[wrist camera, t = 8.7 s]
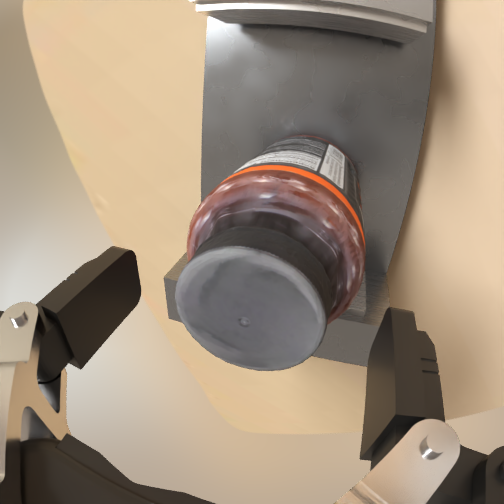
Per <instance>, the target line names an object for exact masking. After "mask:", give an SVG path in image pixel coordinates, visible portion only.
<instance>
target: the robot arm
mask: <svg viewBox="0 0 504 504" xmlns="http://www.w3.org/2000/svg"><path fill="white" fill-rule="evenodd" d="M140 296H141V285H140V279H139V273H138V266H137V260H136V255H135V253H134V252H133V251H132V250H128V249H124V248H119V247H115V246H112V247H110V248H109V249H107V250H106V251H105V252H104V253H102V254H101V255H100V256H99V257H97V258H95V259H93V260H91V261H89V262H87V263H85V264H84V265H82V266H81V267H80V268H79V269H77V270H76V271H75V273H73V274H71V275H70V276H69V277H68V278H67V280H64V281H63V282H62V283H60V284H59V285H58V286H57V287H56V288H54V289H53V290H52V291H51V292H50V293H49V294H48V295H46V296H45V297H44V298H43V299H42V300H41V301H39V302H38V303H37V304H36V305H35V304H33V303H31V302H20V303H17V304H15V305H12V306H11V307H9V308H8V309H7V310H6V311H5V312H4V311H0V504H215V503H212V502H209V501H206V500H203V499H200V498H197V497H195V496H192V495H189V494H187V493H183V492H177V491H171V490H165V489H160V488H155V487H149V486H145V485H140V484H136V483H134V482H132V481H130V480H129V479H128V478H127V477H125V476H124V475H123V474H122V473H121V472H120V471H119V470H118V469H116V468H115V467H114V466H113V465H112V464H111V463H110V462H109V461H108V460H106V458H105V457H103V456H102V455H101V454H100V453H99V452H97V451H96V450H94V449H92V448H91V447H89V446H87V445H86V444H84V443H82V442H81V441H79V440H77V439H76V438H74V437H73V436H71V433H70V430H69V428H68V425H67V420H66V387H67V372H66V369H65V367H66V365H67V364H68V363H70V364H72V365H73V366H75V367H77V368H79V369H82V368H83V367H84V366H85V364H86V363H87V362H88V361H89V360H90V358H91V357H92V356H93V355H94V354H95V353H96V351H97V350H98V349H99V348H100V347H101V346H102V344H103V343H104V342H105V341H106V340H107V339H108V337H109V336H110V335H111V334H112V333H113V332H114V330H115V329H116V328H117V327H118V326H119V325H120V324H121V323H122V321H123V320H124V319H125V318H126V317H127V316H128V315H129V314H130V312H131V311H132V310H133V309H134V308H135V307H136V305H137V304H138V302H139V300H140ZM436 361H437V358H436V352H435V346H434V344H433V343H432V341H431V339H430V338H429V336H428V335H427V333H426V332H424V331H418V330H417V329H416V322H415V317H414V313H413V312H412V311H407V310H402V309H397V308H391V307H388V308H387V310H386V312H385V314H384V317H383V319H382V322H381V324H380V327H379V329H378V332H377V334H376V337H375V339H374V341H373V344H372V346H371V350H370V353H369V358H368V365H367V385H366V400H365V413H364V424H363V434H362V444H361V452H360V459H361V460H370V461H371V470H370V472H369V473H368V474H367V475H366V476H365V477H364V478H363V479H362V480H361V481H359V482H358V483H357V484H356V485H355V486H354V487H353V488H352V489H350V490H349V491H348V492H347V493H346V494H345V495H344V496H343V497H341V498H340V499H339V500H338V501H336V502H335V503H334V504H504V446H502V447H499V448H497V449H495V450H494V451H493V452H492V453H491V454H490V455H486V454H482V453H480V452H477V451H474V450H472V449H469V448H466V447H464V446H462V445H460V442H459V438H458V436H457V434H456V432H455V431H454V430H453V429H452V427H450V426H449V425H448V424H446V423H445V417H444V408H443V399H442V391H441V383H440V376H439V375H438V373H439V370H438V364H437V363H436Z"/></svg>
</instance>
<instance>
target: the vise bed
mask: <svg viewBox="0 0 504 504" xmlns="http://www.w3.org/2000/svg"><path fill="white" fill-rule="evenodd" d="M435 25H436V0H433V22H432V23H431V24H430V25H428V26H427V30H426V34H424V35H423V36H421V37H420V38H418V39H417V40H415V41H414V42H412V43H411V44H405V43H401V42H397V41H393V40H389V39H384V38H379V37H375V36H370V35H364V34H359V33H353V32H347V31H340V30H333V29H325V28H317V27H307V26H295V25H280V24H226V23H224V22H222V21H219V20H217V19H215V18H212V17H210V16H208V23H207V37H206V53H205V71H204V92H203V119H202V161H201V203H202V201H203V200H204V199H205V198H206V196H207V195H208V194H209V193H210V192H211V191H212V190H213V189H214V188H216V187H217V186H218V185H219V184H220V183H222V182H223V181H224V180H225V179H226V178H228V177H229V176H230V175H231V174H232V173H234V172H235V171H237V170H238V169H239V168H241V167H242V166H243V165H244V164H246V163H247V162H248V161H250V160H251V159H252V158H254V157H255V156H256V155H258V154H259V153H260V152H262V151H263V150H264V149H266V148H267V147H269V146H270V145H272V144H274V143H275V142H277V141H279V140H282V139H284V138H287V137H291V136H297V135H309V136H316V137H319V138H322V139H325V140H327V141H329V142H331V143H332V144H334V145H336V146H337V147H338V148H339V149H340V150H341V151H343V152H344V154H345V155H346V156H347V157H348V158H349V160H350V161H351V162H352V164H353V166H354V169H355V171H356V173H357V176H358V180H359V185H360V189H361V203H362V214H363V223H364V236H365V258H366V260H365V271H364V275H363V280H362V283H361V286H360V288H359V291H358V294H357V296H356V297H355V299H354V300H353V302H352V303H351V305H350V307H348V309H347V310H346V311H345V312H344V313H343V314H342V315H340V316H339V317H338V318H337V319H336V320H334V321H332V322H331V323H330V324H328V325H327V329H326V333H325V335H324V338H323V341H322V343H321V344H320V346H319V348H318V349H317V350H316V351H315V353H314V354H313V355H312V356H314V357H319V358H324V359H329V360H334V361H339V362H344V363H350V364H355V365H360V366H366V367H367V365H368V358H369V353H370V350H371V346H372V344H373V341H374V339H375V337H376V334H377V332H378V329H379V327H380V324H381V322H382V319H383V317H384V314H385V312H386V310H387V308H388V307H390V302H389V292H388V284H387V275H386V273H387V270H388V267H389V264H390V261H391V258H392V255H393V252H394V248H395V245H396V242H397V239H398V235H399V232H400V228H401V225H402V221H403V218H404V214H405V210H406V207H407V203H408V199H409V195H410V191H411V187H412V183H413V178H414V174H415V169H416V165H417V160H418V156H419V151H420V146H421V140H422V135H423V130H424V124H425V118H426V112H427V105H428V98H429V91H430V83H431V75H432V65H433V55H434V42H435ZM187 263H188V258H187V252H186V253H185V254H184V255H183V256H182V258H181V259H180V260H179V261H178V262H177V263H176V264H175V265H174V266H173V268H172V269H171V270H170V271H169V272H168V273H167V274H166V275H165V277H164V283H165V292H166V300H167V308H168V316H169V319H172V320H176V321H179V322H182V321H181V319H180V316H179V313H178V310H177V304H176V300H175V291H176V284H177V281H178V278H179V276H180V274H181V272H182V270H183V269H184V267H185V266H186V264H187Z"/></svg>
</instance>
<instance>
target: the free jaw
mask: <svg viewBox="0 0 504 504" xmlns="http://www.w3.org/2000/svg"><path fill="white" fill-rule="evenodd" d="M189 1H191V2H193V3H196V4H197V8H196V11H197V12H200V13H202V14H205V15H207V16H210V17H212V18H215V19H217V20H219V21H222V22H224V23H226V24H280V25H295V26H307V27H317V28H325V29H333V30H340V31H347V32H353V33H359V34H364V35H370V36H375V37H379V38H384V39H389V40H393V41H397V42H401V43H405V44H411V43H412V42H414V41H415V40H417V39H418V38H420V37H421V36H423V35H424V34H426V30H427V26H428V25H430V24H431V23H432V22H433V0H189Z"/></svg>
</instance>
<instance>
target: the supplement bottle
mask: <svg viewBox="0 0 504 504" xmlns="http://www.w3.org/2000/svg"><path fill="white" fill-rule="evenodd" d="M187 258H188V263H187V264H186V266H185V267H184V269H183V270H182V272H181V274H180V276H179V278H178V281H177V284H176V291H175V300H176V304H177V310H178V313H179V316H180V319H181V321H182V323H183V324H184V325H185V327H186V329H187V330H188V332H189V333H190V334H191V336H192V337H193V338H194V339H195V340H196V341H197V342H199V344H200V345H201V346H202V347H204V348H205V349H206V350H207V351H209V352H210V353H212V354H213V355H214V356H216V357H218V358H220V359H222V360H224V361H225V362H227V363H230V364H234V365H236V366H239V367H243V368H247V369H253V370H257V371H274V370H284V369H288V368H291V367H293V366H296V365H298V364H300V363H303V362H304V361H305V360H306V359H308V358H309V357H311V356H312V355H313V354H314V353H315V351H316V350H317V349H318V348H319V346H320V344H321V343H322V341H323V338H324V335H325V333H326V329H327V325H328V324H330V323H331V322H332V321H334V320H336V319H337V318H338V317H339V316H340V315H342V314H343V313H344V312H345V311H346V310H347V309H348V307H350V305H351V303H352V302H353V300H354V299H355V297H356V296H357V294H358V291H359V288H360V286H361V283H362V280H363V275H364V271H365V260H366V258H365V236H364V223H363V214H362V203H361V189H360V185H359V180H358V176H357V173H356V171H355V169H354V166H353V164H352V162H351V161H350V160H349V158H348V157H347V156H346V155H345V154H344V152H343V151H341V150H340V149H339V148H338V147H337V146H336V145H334V144H332V143H331V142H329V141H327V140H325V139H322V138H319V137H316V136H309V135H297V136H291V137H287V138H284V139H282V140H279V141H277V142H275V143H274V144H272V145H270V146H269V147H267V148H266V149H264V150H263V151H262V152H260V153H259V154H258V155H256V156H255V157H254V158H252V159H251V160H250V161H248V162H247V163H246V164H244V165H243V166H242V167H241V168H239V169H238V170H237V171H235V172H234V173H232V174H231V175H230V176H229V177H228V178H226V179H225V180H224V181H223V182H222V183H220V184H219V185H218V186H217V187H216V188H214V189H213V190H212V191H211V192H210V193H209V194H208V195H207V196H206V198H205V199H204V200H203V201H202V203H201V204H200V205H199V207H198V209H197V210H196V212H195V214H194V216H193V218H192V220H191V223H190V227H189V231H188V237H187Z"/></svg>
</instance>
